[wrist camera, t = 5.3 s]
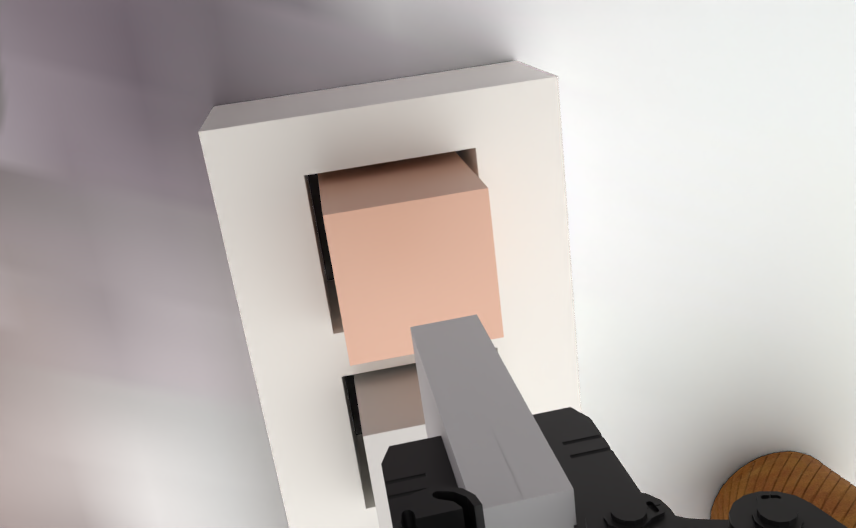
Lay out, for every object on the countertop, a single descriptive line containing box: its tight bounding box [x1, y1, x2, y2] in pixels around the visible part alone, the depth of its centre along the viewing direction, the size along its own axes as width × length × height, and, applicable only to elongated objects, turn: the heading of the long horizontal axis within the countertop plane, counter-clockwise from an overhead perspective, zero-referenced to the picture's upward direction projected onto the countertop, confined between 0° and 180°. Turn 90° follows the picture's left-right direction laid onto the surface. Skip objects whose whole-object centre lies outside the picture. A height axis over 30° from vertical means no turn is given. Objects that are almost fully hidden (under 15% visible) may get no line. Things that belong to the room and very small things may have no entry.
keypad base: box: [198, 61, 581, 528], centre depth 31 cm, size 11×23×5 cm, turn 7°
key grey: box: [353, 363, 428, 528], centre depth 28 cm, size 5×5×6 cm
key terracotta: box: [318, 151, 504, 366], centre depth 26 cm, size 5×5×6 cm
